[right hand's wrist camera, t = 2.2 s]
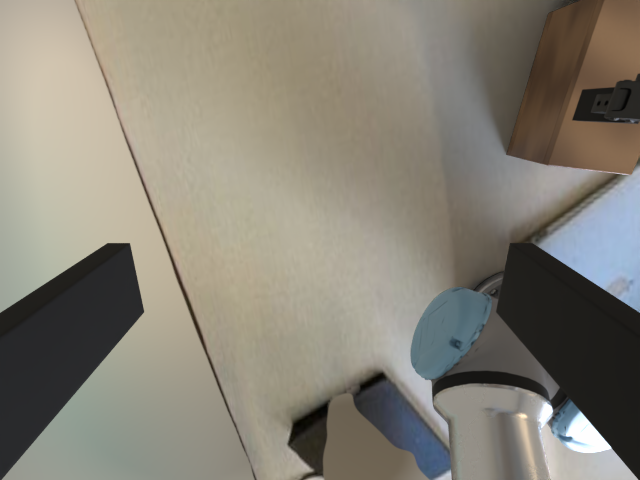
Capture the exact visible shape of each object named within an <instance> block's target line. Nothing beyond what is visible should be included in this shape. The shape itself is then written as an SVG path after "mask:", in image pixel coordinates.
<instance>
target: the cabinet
mask: <svg viewBox="0 0 640 480" xmlns="http://www.w3.org/2000/svg"><path fill="white" fill-rule="evenodd" d="M637 74H640V0H580V1H577V2H575V3H572V4H570V5H568V6H565V7H563V8H560V9H558V10H555V11H553V12H550V13H548V16H547V20H546V23H545V26H544V30H543V33H542V37H541V40H540V43H539V47H538V50H537V53H536V57H535V60H534V63H533V67H532V70H531V74H530V77H529V80H528V84H527V87H526V90H525V94H524V97H523V100H522V104H521V107H520V111H519V114H518V117H517V121H516V124H515V127H514V131H513V134H512V137H511V141H510V144H509V148H508V151H507V155H510V156H514V157H517V158H521V159H525V160H529V161H533V162H537V163H541V164H545V165H549V166H558V167H566V168H575V169H583V170H591V171H600V172H608V173H616V174H625V175H631V174H632V172H633V170H634V167H635V165H636V163H637V160H638V158H639V156H640V121H639V123H638V124H628V123H606V122H584V121H573V120H572V119H573V116H574V113H575V110H576V107H577V104H578V101H579V98H580V95H581V92H582V90H583V89H596V88H609V87H615V86H616V83H617V82H619V81H624V80H632V81H635V80H636V77H637Z"/></svg>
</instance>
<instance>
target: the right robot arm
mask: <svg viewBox="0 0 640 480" xmlns="http://www.w3.org/2000/svg"><path fill="white" fill-rule="evenodd" d="M143 313H144V309H143V304H142V299H141V294H140V290H139V285H138V280H137V275H136V270H135V266H134V261H133V256H132V251H131V246H130V243H107V244H106V245H104V246H103V247H101V248H100V249H98V250H97V251H95V252H94V253H92V254H90V255H89V256H87V257H86V258H84V259H83V260H81V261H80V262H78V263H77V264H75V265H73V266H72V267H70V268H69V269H67V270H66V271H64V272H63V273H61V274H60V275H58V276H56V277H55V278H53V279H52V280H50V281H49V282H47V283H46V284H44V285H43V286H41V287H40V288H38V289H37V290H35V291H33V292H32V293H30V294H29V295H27V296H26V297H24V298H23V299H21V300H20V301H18V302H16V303H15V304H13V305H12V306H10V307H9V308H7V309H6V310H4V311H3V312H1V313H0V480H2V478H3V477H4V476H5V475H6V474H7V473H8V471H9V470H10V469H11V468H12V467H13V465H14V464H15V463H16V462H17V461H18V460H19V458H20V457H21V456H22V455H23V454H24V453H25V451H26V450H27V449H28V448H29V447H30V446H31V444H32V443H33V442H34V441H35V440H36V438H37V437H38V436H39V435H40V434H41V433H42V431H43V430H44V429H45V428H46V427H47V426H48V424H49V423H50V422H51V421H52V420H53V419H54V417H55V416H56V415H57V414H58V413H59V411H60V410H61V409H62V408H63V407H64V406H65V404H66V403H67V402H68V401H69V400H70V399H71V397H72V396H73V395H74V394H75V393H76V391H77V390H78V389H79V388H80V387H81V386H82V384H83V383H84V382H85V381H86V380H87V379H88V377H89V376H90V375H91V374H92V373H93V371H94V370H95V369H96V368H97V367H98V366H99V364H100V363H101V362H102V361H103V360H104V359H105V357H106V356H107V355H108V354H109V353H110V352H111V350H112V349H113V348H114V347H115V346H116V344H117V343H118V342H119V341H120V340H121V339H122V337H123V336H124V335H125V334H126V333H127V332H128V330H129V329H130V328H131V327H132V326H133V325H134V323H135V322H136V321H137V320H138V319H139V317H140V316H141V315H142V314H143ZM496 313H497V314H498V315H499V316H500V317H501V319H502V320H503V321H504V322H505V323H506V325H507V326H508V327H509V328H510V329H511V330H512V332H513V333H514V334H515V335H516V336H517V337H518V339H519V340H520V341H521V342H522V343H523V345H524V346H525V347H526V348H527V349H528V350H529V352H530V353H531V354H532V355H533V356H534V357H535V359H536V360H537V361H538V362H539V363H540V364H541V366H542V367H543V368H544V369H545V370H546V372H547V373H548V374H549V375H550V376H551V377H552V379H553V380H554V381H555V382H556V383H557V384H558V386H559V387H560V388H561V389H562V390H563V391H564V393H565V394H566V395H567V396H568V397H569V399H570V400H571V401H572V402H573V403H574V404H575V406H576V407H577V408H578V409H579V410H580V411H581V413H582V414H583V415H584V416H585V417H586V419H587V420H588V421H589V422H590V423H591V424H592V426H593V427H594V428H595V429H596V430H597V431H598V433H599V434H600V435H601V436H602V437H603V438H604V440H605V441H606V442H607V443H608V444H609V446H610V447H611V448H612V449H613V450H614V451H615V453H616V454H617V455H618V456H619V457H620V458H621V460H622V461H623V462H624V463H625V464H626V466H627V467H628V468H629V469H630V470H631V471H632V473H633V474H634V475H635V476H636V477H637V478H638V480H640V313H639V312H637V311H636V310H634V309H633V308H631V307H630V306H628V305H627V304H625V303H624V302H622V301H621V300H619V299H617V298H616V297H614V296H613V295H611V294H610V293H608V292H607V291H605V290H604V289H602V288H600V287H599V286H597V285H596V284H594V283H593V282H591V281H590V280H588V279H587V278H585V277H584V276H582V275H580V274H579V273H577V272H576V271H574V270H573V269H571V268H570V267H568V266H567V265H565V264H563V263H562V262H560V261H559V260H557V259H556V258H554V257H553V256H551V255H550V254H548V253H547V252H545V251H543V250H542V249H540V248H539V247H537V246H536V245H534V244H533V243H510V246H509V251H508V256H507V261H506V266H505V270H504V275H503V280H502V285H501V290H500V294H499V299H498V304H497V309H496Z"/></svg>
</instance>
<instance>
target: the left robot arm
mask: <svg viewBox="0 0 640 480" xmlns="http://www.w3.org/2000/svg"><path fill="white" fill-rule="evenodd" d="M572 120H573V121H584V122H606V123H628V124H638V123H639V121H640V74H637V77H636V80H635V81H632V80H624V81H619V82H617V83H616V86H615V87H609V88H596V89H583V90H582V92H581V95H580V98H579V101H578V104H577V107H576V110H575V113H574V116H573V119H572ZM503 275H504V272H501V273H498V274H496V275H494V276H492V277H490V278H488V279H486V280H485V281H484V282H482V283H481V284H480V285H479V286H478V287H477V288H476V289H475V290H474V291H473V290H470V289H467V288H463V287H454V288H451V289H448V290H446V291H444V292H442V293H441V294H439V295H438V296H437V297H436V298H435V299H434V300H433V301H432V302H431V303H430V304H429V306H428V307H427V308H426V310H425V312H424V313H423V315H422V317H421V319H420V320H419V323H418V325H417V327H416V330H415V333H414V336H413V340H412V345H411V363H412V366H413V368H414V369H415V371H416V372H417V373H418V374H419V375H421V377H423V378H425V380H431V381H432V398H433V406H434V409H435V411H436V412H437V413H438V414H439V415H440V416H441V417H442V418H443V419H444V420H445V421H446V422H447V424H448V427H449V442H450V458H451V474H452V480H551V476H550V471H549V467H548V463H547V458H546V454H545V449H544V445H543V441H542V436H541V432H540V430H541V428H542V427H543V426H544V425H545V423H547V424H548V425H549V427H550V428H551V431H552V433H553V435H554V436H555V437H556V438H558V439H559V440H560V441H561V442H562V443H563V444H564V445H565V446H566V447H568V448H569V449H571V450H574V451H577V452H584V453H591V452H599V451H603V450H607V449H610V448H611V447H610V446H609V444H608V443H607V442H606V441H605V440H604V438H603V437H602V436H601V435H600V434H599V433H598V431H597V430H596V429H595V428H594V427H593V426H592V424H591V423H590V422H589V421H588V420H587V419H586V417H585V416H584V415H583V414H582V413H581V411H580V410H579V409H578V408H577V407H576V406H575V404H574V403H573V402H572V401H571V400H570V399H569V397H568V396H567V395H566V394H565V393H564V391H563V390H562V389H561V388H560V387H559V386H558V384H557V383H556V382H555V381H554V380H553V379H552V377H551V376H550V375H549V374H548V373H547V372H546V370H545V369H544V368H543V367H542V366H541V364H540V363H539V362H538V361H537V360H536V359H535V357H534V356H533V355H532V354H531V353H530V352H529V350H528V349H527V348H526V347H525V346H524V345H523V343H522V342H521V341H520V340H519V339H518V337H517V336H516V335H515V334H514V333H513V332H512V330H511V329H510V328H509V327H508V326H507V325H506V323H505V322H504V321H503V320H502V319H501V317H500V316H499V315H498V314H497V313H496V309H497V304H498V299H499V294H500V290H501V285H502V280H503Z"/></svg>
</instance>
